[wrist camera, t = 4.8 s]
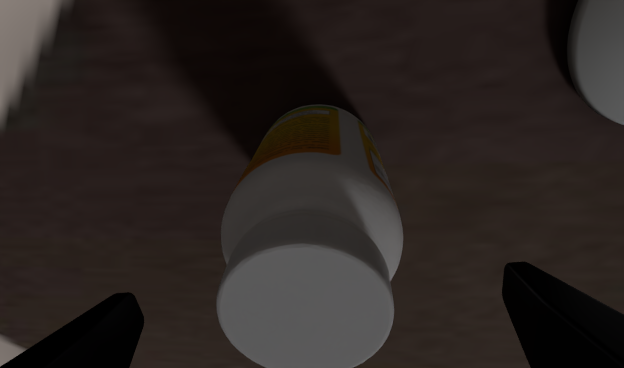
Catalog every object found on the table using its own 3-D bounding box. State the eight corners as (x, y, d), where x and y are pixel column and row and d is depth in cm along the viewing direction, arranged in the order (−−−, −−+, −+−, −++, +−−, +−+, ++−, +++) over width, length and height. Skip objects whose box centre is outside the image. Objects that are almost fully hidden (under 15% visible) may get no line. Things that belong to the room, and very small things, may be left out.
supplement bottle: (243, 179, 17) (151, 347, 8) (293, 79, 15) (239, 163, 6) (339, 227, 18) (347, 424, 9) (400, 138, 16) (482, 284, 7)
